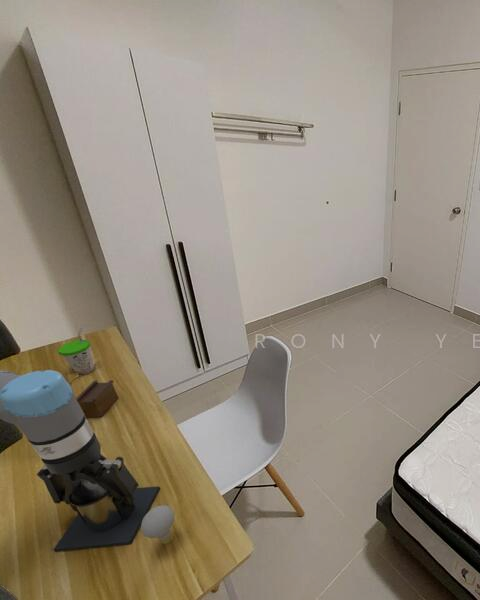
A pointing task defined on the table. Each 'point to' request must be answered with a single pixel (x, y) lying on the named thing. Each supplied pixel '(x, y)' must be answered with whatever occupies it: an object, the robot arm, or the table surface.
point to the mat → (120, 534)
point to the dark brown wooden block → (97, 399)
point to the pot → (96, 506)
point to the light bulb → (158, 523)
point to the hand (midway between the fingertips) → (110, 514)
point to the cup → (78, 355)
